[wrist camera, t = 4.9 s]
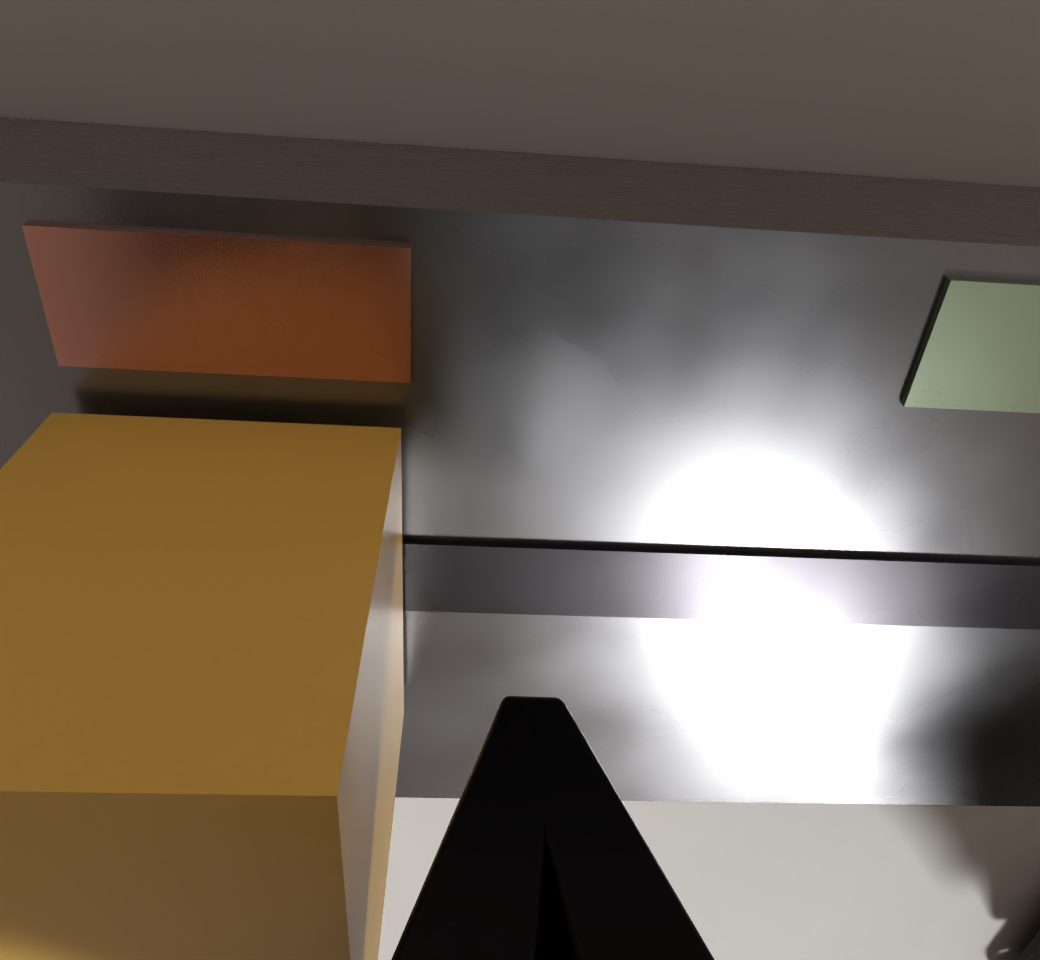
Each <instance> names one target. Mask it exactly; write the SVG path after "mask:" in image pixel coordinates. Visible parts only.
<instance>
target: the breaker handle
mask: <svg viewBox="0 0 1040 960" xmlns="http://www.w3.org/2000/svg"><path fill="white" fill-rule="evenodd" d="M403 717H404V664H403V566H402V468H401V428H390V427H368V426H345V425H323V424H301V423H278V422H256V421H233V420H211V419H188V418H166V417H143V416H121V415H98V414H76V413H53V412H52V413H51V414H50V415H49V417H48V418H47V419H46V420H45V421H44V422H43V423H42V424H41V425H40V426H39V427H38V429H37V430H36V431H35V432H34V433H33V434H32V435H31V436H30V437H29V438H28V440H27V441H26V442H25V443H24V444H23V445H22V446H21V447H20V448H19V449H18V450H17V452H16V453H15V454H14V455H13V456H12V457H11V458H10V459H9V460H8V461H7V462H6V464H5V465H4V466H3V467H2V468H1V469H0V960H378V952H379V943H380V933H381V924H382V914H383V905H384V896H385V886H386V877H387V868H388V858H389V849H390V839H391V830H392V821H393V811H394V802H395V792H396V783H397V774H398V764H399V755H400V746H401V736H402V727H403Z"/></svg>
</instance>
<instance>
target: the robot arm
mask: <svg viewBox="0 0 1040 960" xmlns="http://www.w3.org/2000/svg"><path fill="white" fill-rule="evenodd" d="M392 960H714V958H713V957H712V955H711V953H710V951H709V950H708V948H707V946H706V945H705V943H704V941H703V939H702V938H701V936H700V934H699V933H698V931H697V929H696V927H695V926H694V924H693V922H692V921H691V919H690V917H689V915H688V914H687V912H686V910H685V909H684V907H683V905H682V903H681V902H680V900H679V898H678V897H677V895H676V893H675V891H674V890H673V888H672V886H671V885H670V883H669V881H668V879H667V878H666V876H665V874H664V873H663V871H662V869H661V867H660V866H659V864H658V862H657V861H656V859H655V857H654V855H653V854H652V852H651V850H650V849H649V847H648V845H647V843H646V842H645V840H644V838H643V837H642V835H641V833H640V831H639V830H638V828H637V826H636V825H635V823H634V821H633V819H632V818H631V816H630V814H629V813H628V811H627V809H626V807H625V806H624V804H623V802H622V801H621V799H620V797H619V795H618V794H617V792H616V790H615V789H614V787H613V785H612V783H611V782H610V780H609V778H608V777H607V775H606V773H605V771H604V770H603V768H602V766H601V765H600V763H599V761H598V759H597V758H596V756H595V754H594V753H593V751H592V749H591V747H590V746H589V744H588V742H587V741H586V739H585V737H584V735H583V734H582V732H581V730H580V729H579V727H578V725H577V723H576V722H575V720H574V718H573V717H572V715H571V713H570V711H569V710H568V708H567V706H566V705H565V703H564V702H563V701H562V700H561V699H559V698H557V697H531V696H506V697H505V698H504V699H503V700H502V701H501V704H500V706H499V708H498V711H497V713H496V715H495V718H494V720H493V722H492V725H491V727H490V729H489V732H488V734H487V736H486V739H485V741H484V743H483V746H482V748H481V750H480V753H479V755H478V758H477V760H476V762H475V765H474V767H473V769H472V772H471V774H470V776H469V779H468V781H467V783H466V786H465V788H464V790H463V793H462V795H461V798H460V800H459V802H458V805H457V807H456V809H455V812H454V814H453V816H452V819H451V821H450V823H449V826H448V828H447V830H446V833H445V835H444V837H443V840H442V842H441V845H440V847H439V849H438V852H437V854H436V856H435V859H434V861H433V863H432V866H431V868H430V870H429V873H428V875H427V877H426V880H425V882H424V884H423V887H422V889H421V892H420V894H419V896H418V899H417V901H416V903H415V906H414V908H413V910H412V913H411V915H410V917H409V920H408V922H407V924H406V927H405V929H404V932H403V934H402V936H401V939H400V941H399V943H398V946H397V948H396V950H395V953H394V955H393V957H392ZM1016 960H1040V930H1039V931H1038V933H1037V934H1036V935H1035V936H1034V938H1033V939H1032V940H1031V942H1030V943H1029V944H1028V945H1027V947H1026V948H1025V949H1024V950H1023V952H1022V953H1021V954H1020V955H1019V957H1018V958H1017V959H1016Z"/></svg>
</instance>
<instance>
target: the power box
mask: <svg viewBox="0 0 1040 960" xmlns="http://www.w3.org/2000/svg"><path fill="white" fill-rule="evenodd" d="M52 412H53V413H76V414H98V415H121V416H143V417H166V418H188V419H211V420H233V421H256V422H278V423H301V424H323V425H345V426H368V427H390V428H401V468H402V566H403V664H404V717H403V727H402V736H401V746H400V755H399V764H398V774H397V783H396V792H395V797H417V798H461V795H462V793H463V790H464V788H465V786H466V783H467V781H468V779H469V776H470V774H471V772H472V769H473V767H474V765H475V762H476V760H477V758H478V755H479V753H480V750H481V748H482V746H483V743H484V741H485V739H486V736H487V734H488V732H489V729H490V727H491V725H492V722H493V720H494V718H495V715H496V713H497V711H498V708H499V706H500V704H501V701H502V700H503V699H504V698H505V697H506V696H531V697H557V698H559V699H561V700H562V701H563V702H564V703H565V705H566V706H567V708H568V710H569V711H570V713H571V715H572V717H573V718H574V720H575V722H576V723H577V725H578V727H579V729H580V730H581V732H582V734H583V735H584V737H585V739H586V741H587V742H588V744H589V746H590V747H591V749H592V751H593V753H594V754H595V756H596V758H597V759H598V761H599V763H600V765H601V766H602V768H603V770H604V771H605V773H606V775H607V777H608V778H609V780H610V782H611V783H612V785H613V787H614V789H615V790H616V792H617V794H618V795H619V797H620V799H621V800H627V801H696V802H766V803H836V804H906V805H976V806H1040V188H1030V187H1015V186H1001V185H986V184H971V183H956V182H941V181H927V180H912V179H897V178H882V177H867V176H853V175H838V174H823V173H808V172H794V171H779V170H764V169H749V168H734V167H720V166H705V165H690V164H675V163H660V162H646V161H631V160H616V159H601V158H587V157H572V156H557V155H542V154H527V153H513V152H498V151H483V150H468V149H453V148H439V147H424V146H409V145H394V144H379V143H365V142H350V141H335V140H320V139H306V138H291V137H276V136H261V135H246V134H232V133H217V132H202V131H187V130H172V129H158V128H143V127H128V126H113V125H99V124H84V123H69V122H54V121H39V120H25V119H10V118H0V469H1V468H2V467H3V466H4V465H5V464H6V462H7V461H8V460H9V459H10V458H11V457H12V456H13V455H14V454H15V453H16V452H17V450H18V449H19V448H20V447H21V446H22V445H23V444H24V443H25V442H26V441H27V440H28V438H29V437H30V436H31V435H32V434H33V433H34V432H35V431H36V430H37V429H38V427H39V426H40V425H41V424H42V423H43V422H44V421H45V420H46V419H47V418H48V417H49V415H50V414H51V413H52Z"/></svg>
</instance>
